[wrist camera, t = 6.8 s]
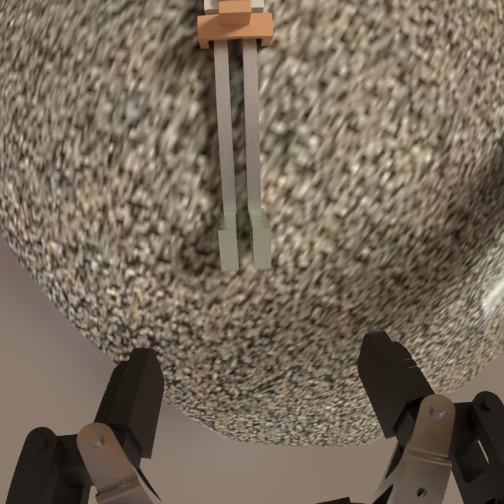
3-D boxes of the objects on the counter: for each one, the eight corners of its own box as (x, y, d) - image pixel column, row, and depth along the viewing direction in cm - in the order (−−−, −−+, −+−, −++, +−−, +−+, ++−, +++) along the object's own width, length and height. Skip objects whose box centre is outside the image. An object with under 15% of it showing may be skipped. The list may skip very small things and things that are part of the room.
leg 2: (241, 20, 18) (244, -5, 13) (258, 20, 18) (264, -5, 13) (248, 242, 25) (252, 269, 21) (263, 242, 25) (271, 268, 21)
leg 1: (210, 22, 17) (205, -3, 13) (226, 21, 18) (225, -4, 13) (223, 244, 25) (221, 271, 20) (238, 243, 25) (240, 270, 21)
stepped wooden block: (201, 28, 18) (193, 3, 13) (267, 25, 18) (276, 0, 13) (201, 49, 18) (193, 28, 14) (268, 46, 19) (277, 25, 14)
